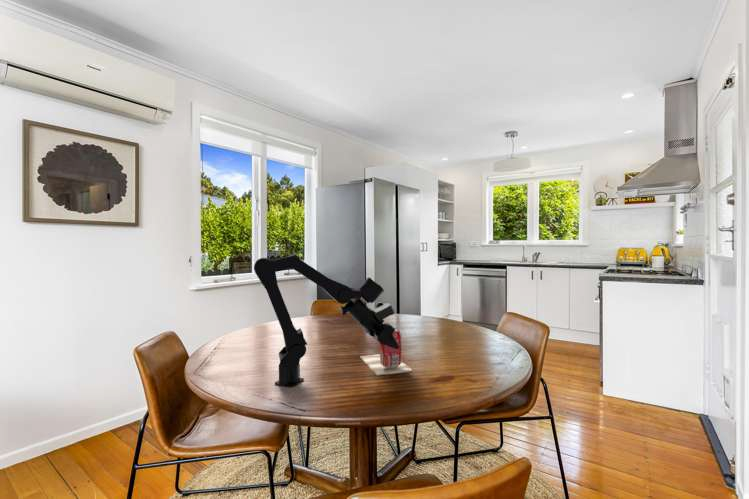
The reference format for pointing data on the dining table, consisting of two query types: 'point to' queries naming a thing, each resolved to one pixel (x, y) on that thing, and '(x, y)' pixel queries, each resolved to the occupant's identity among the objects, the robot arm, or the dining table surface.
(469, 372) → the dining table surface
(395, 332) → the soda can
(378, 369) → the board
